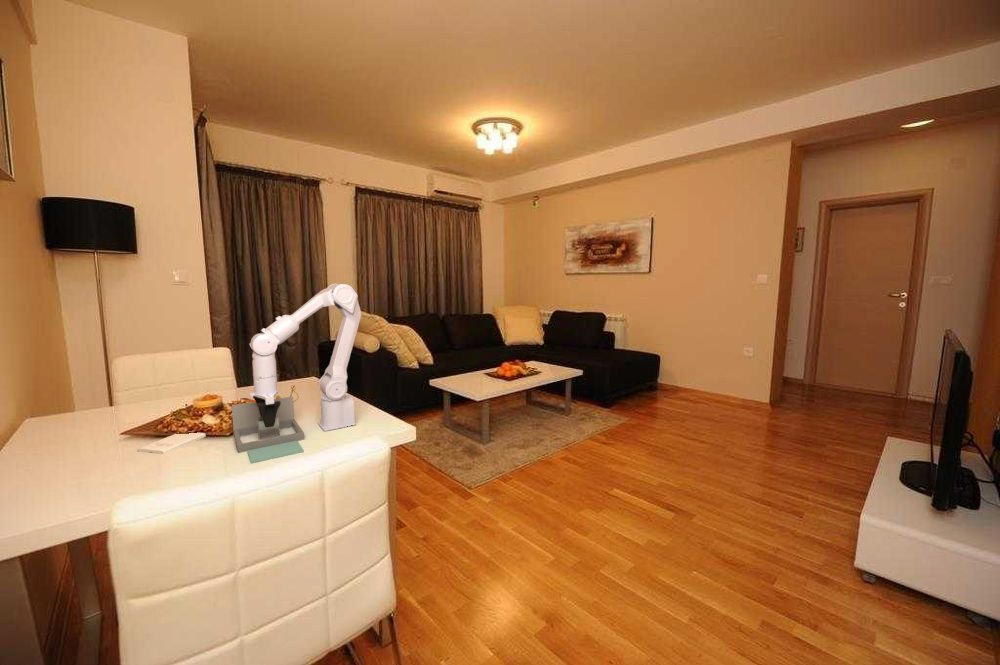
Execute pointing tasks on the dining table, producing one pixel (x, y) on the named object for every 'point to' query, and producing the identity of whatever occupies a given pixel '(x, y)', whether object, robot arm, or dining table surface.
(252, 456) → the module mat
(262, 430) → the block
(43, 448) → the dining table surface
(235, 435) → the equipment case
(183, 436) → the external hard drive
